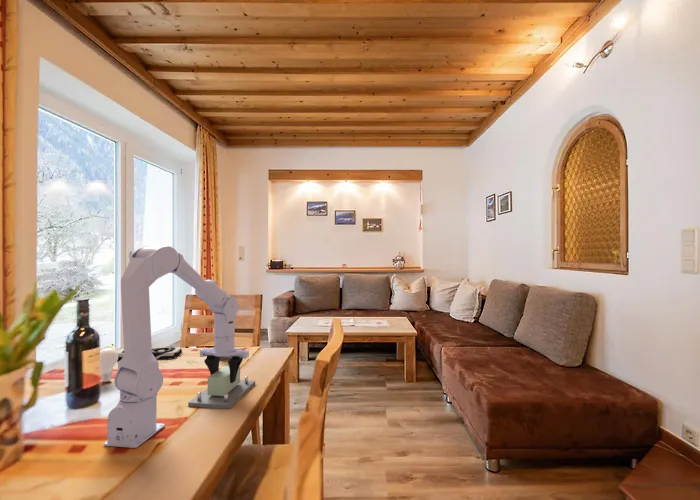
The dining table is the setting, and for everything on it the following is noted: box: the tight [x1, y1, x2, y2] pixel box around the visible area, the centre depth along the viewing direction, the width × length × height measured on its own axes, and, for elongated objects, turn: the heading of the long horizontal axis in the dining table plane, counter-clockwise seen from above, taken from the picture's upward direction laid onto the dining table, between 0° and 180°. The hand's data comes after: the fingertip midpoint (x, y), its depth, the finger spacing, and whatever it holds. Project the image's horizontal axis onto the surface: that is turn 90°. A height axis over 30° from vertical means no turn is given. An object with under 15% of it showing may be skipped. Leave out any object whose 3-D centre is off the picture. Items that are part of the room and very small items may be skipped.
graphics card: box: [115, 346, 183, 362], centre depth 134 cm, size 10×3×25 cm
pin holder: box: [187, 375, 256, 410], centre depth 99 cm, size 17×12×3 cm
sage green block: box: [207, 365, 241, 396], centre depth 99 cm, size 10×5×5 cm, turn 173°
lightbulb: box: [99, 347, 119, 383], centre depth 108 cm, size 6×6×11 cm
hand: (224, 381), depth 99 cm, fingers closed on sage green block, 5 cm apart
